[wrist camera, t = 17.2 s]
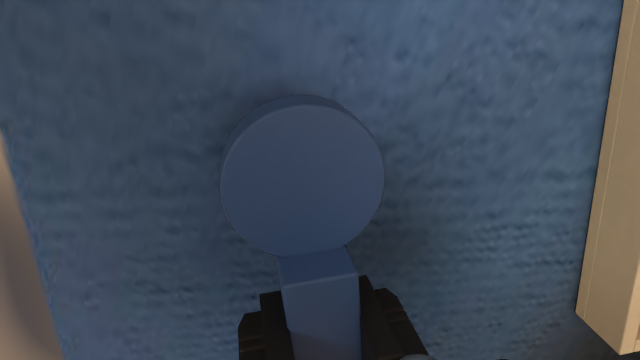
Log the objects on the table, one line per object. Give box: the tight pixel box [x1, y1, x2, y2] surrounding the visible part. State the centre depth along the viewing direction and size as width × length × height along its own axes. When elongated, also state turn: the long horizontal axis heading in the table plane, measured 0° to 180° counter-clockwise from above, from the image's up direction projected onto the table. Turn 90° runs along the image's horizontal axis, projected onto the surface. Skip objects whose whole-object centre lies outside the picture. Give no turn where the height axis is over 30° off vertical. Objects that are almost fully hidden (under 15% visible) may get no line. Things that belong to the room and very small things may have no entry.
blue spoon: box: [219, 95, 385, 360], centre depth 13 cm, size 12×4×2 cm, turn 5°
